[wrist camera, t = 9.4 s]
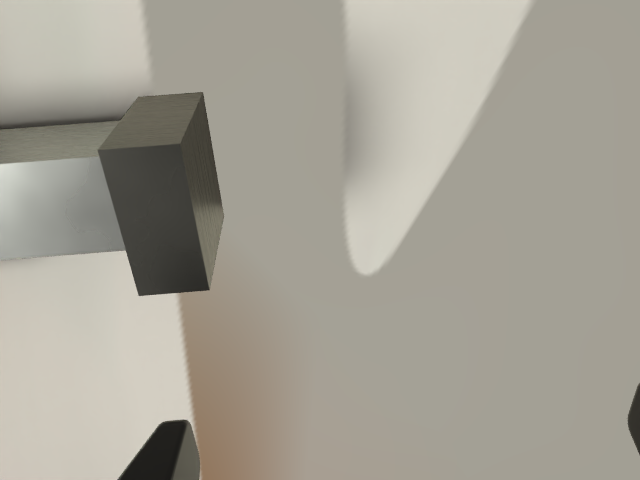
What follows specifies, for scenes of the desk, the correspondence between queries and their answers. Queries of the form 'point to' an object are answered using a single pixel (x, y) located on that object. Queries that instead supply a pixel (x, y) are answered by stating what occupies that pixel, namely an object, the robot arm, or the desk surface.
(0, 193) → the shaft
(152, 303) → the desk surface
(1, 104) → the desk surface
